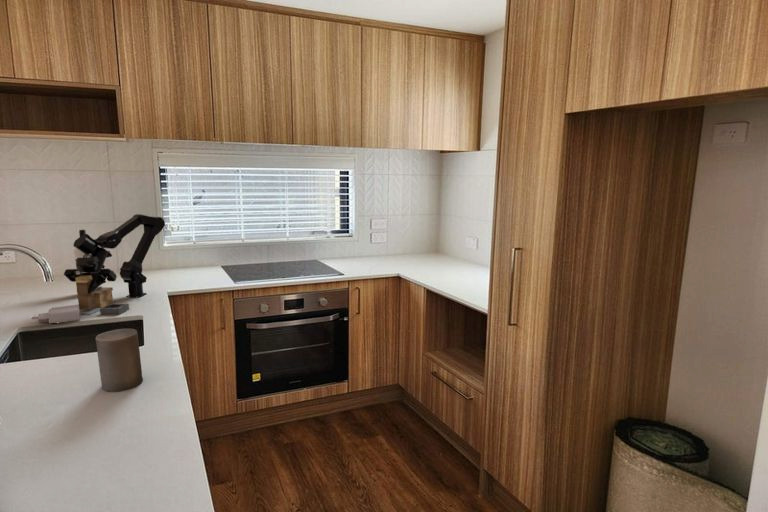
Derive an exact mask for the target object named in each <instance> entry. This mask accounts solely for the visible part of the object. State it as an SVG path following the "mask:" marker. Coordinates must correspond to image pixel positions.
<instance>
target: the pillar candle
mask: <svg viewBox="0 0 768 512" xmlns="http://www.w3.org/2000/svg"><path fill="white" fill-rule="evenodd" d="M95 343H96V350H97V360H98V366H99V376H100V383H101V388H102V389H103V390H104V391H106V392H113V393H114V392H121V391H125V390H129V389H132V388H134V387H138V386H139V385H141V384H142V383H143V381H144V378H143V370H142V361H141V352H140V343H139V336H138V331H137V329H135V328H119V329H118V328H116V329H113V330H108V331H105V332H101V333H100V334H97V335H96V337H95Z"/></svg>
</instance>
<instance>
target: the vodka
mask: <svg viewBox="0 0 768 512" xmlns="http://www.w3.org/2000/svg"><path fill="white" fill-rule="evenodd" d="M78 233H79V234H78V235H79V237H81V236H83V234H87V233H86V229H79V230H78ZM73 254H74V259H75V261H74V262H75V264H76V263H77V258H89V257H90V255H91V254H88V255H86V254H84V253H83V252H81V251H80V250H78V249H77V248H75V247H74V249H73ZM75 269H77V270H78V271H80V272H84V271H83V270H81V267H79V266H76V265H75Z"/></svg>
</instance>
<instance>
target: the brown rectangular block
mask: <svg viewBox="0 0 768 512" xmlns="http://www.w3.org/2000/svg"><path fill="white" fill-rule="evenodd" d="M91 282H92V276H79V277H76V282H75V285H76V293H77V299H78V301H77V302H78V305H79V310H90V309H92V308H94V307H95V300H94V292H93V291H92V292H91V293H90V294H89V293H88V289H89V287H90V284H91Z"/></svg>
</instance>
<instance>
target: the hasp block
mask: <svg viewBox="0 0 768 512" xmlns="http://www.w3.org/2000/svg"><path fill="white" fill-rule="evenodd" d="M129 305H130V304H129V303H112V304H109V305H107V306H105V307H102V308H100V311H99V312H100V315H102V316H103V315H104V316H110V315H113V316H114V315H115V316H117V315H121V314H124V313H125V312H128V311H129V310H130V306H129Z"/></svg>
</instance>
